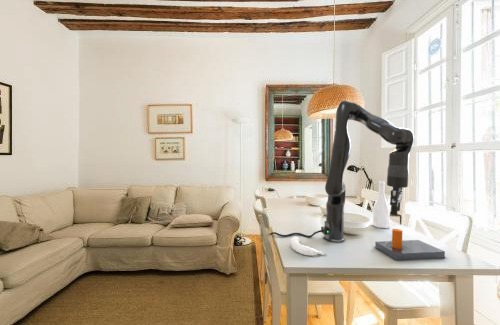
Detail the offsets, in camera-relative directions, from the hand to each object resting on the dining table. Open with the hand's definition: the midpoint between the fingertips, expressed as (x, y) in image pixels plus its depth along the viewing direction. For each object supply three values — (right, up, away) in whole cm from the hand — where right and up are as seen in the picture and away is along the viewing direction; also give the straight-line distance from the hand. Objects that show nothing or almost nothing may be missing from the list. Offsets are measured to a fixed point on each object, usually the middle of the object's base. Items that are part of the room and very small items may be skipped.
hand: (395, 212), depth 96 cm
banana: (-35, -21, +15) cm, 44 cm away
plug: (+8, -22, +11) cm, 25 cm away
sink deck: (+14, -22, +11) cm, 28 cm away
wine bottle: (+24, -21, +52) cm, 61 cm away
